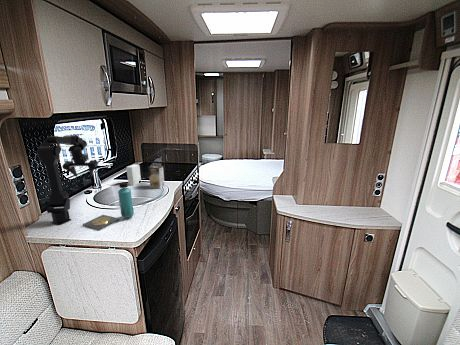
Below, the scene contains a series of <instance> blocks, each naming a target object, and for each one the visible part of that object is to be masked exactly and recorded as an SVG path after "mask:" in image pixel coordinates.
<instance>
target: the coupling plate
mask: <svg viewBox="0 0 460 345" xmlns="http://www.w3.org/2000/svg"><path fill="white" fill-rule="evenodd" d="M118 221H120V217H119V218H118V217H114V216H112V215H107V214H106V215H105V214H100V215H99V216H97V217H95V218H93V219H91V220H89V221H87V222H84V223H83V224H82V226H83V227H86V228H89V229H93V230H98V231H101V230H103V229H105V228H107V227H109V226H111V225H113V224H115V223H116V222H118Z"/></svg>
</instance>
